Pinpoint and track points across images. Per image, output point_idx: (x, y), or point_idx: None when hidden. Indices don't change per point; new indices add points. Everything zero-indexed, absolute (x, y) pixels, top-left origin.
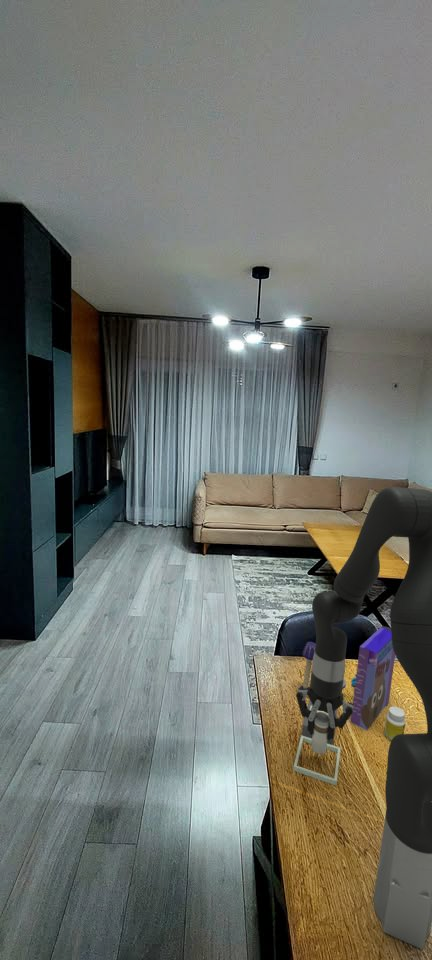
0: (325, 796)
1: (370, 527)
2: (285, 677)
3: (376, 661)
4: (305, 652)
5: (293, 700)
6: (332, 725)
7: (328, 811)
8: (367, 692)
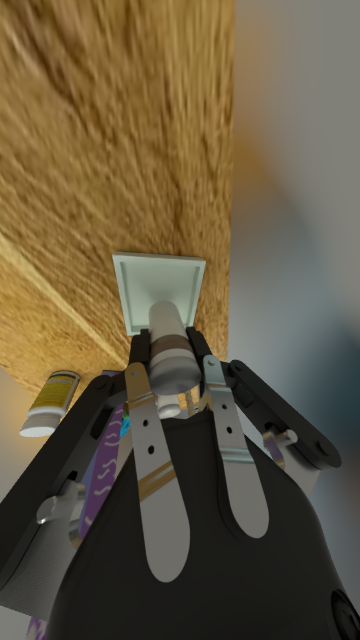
0: (131, 220)
1: None
2: None
3: (26, 635)
4: None
5: None
6: (135, 372)
7: (113, 164)
8: None
